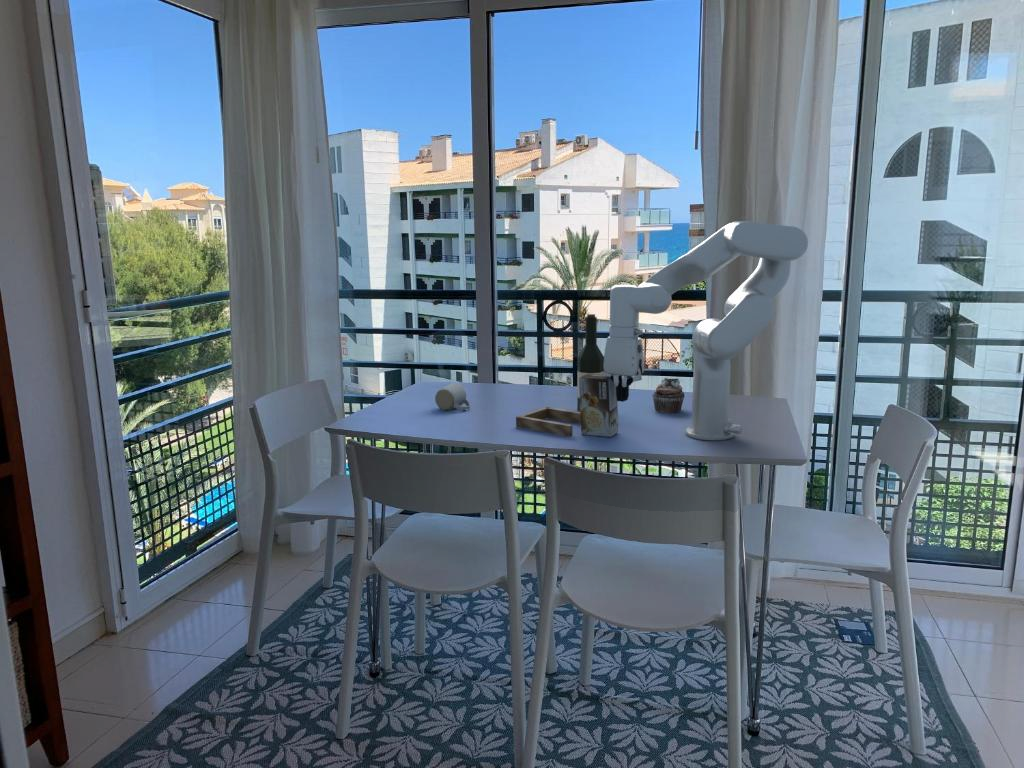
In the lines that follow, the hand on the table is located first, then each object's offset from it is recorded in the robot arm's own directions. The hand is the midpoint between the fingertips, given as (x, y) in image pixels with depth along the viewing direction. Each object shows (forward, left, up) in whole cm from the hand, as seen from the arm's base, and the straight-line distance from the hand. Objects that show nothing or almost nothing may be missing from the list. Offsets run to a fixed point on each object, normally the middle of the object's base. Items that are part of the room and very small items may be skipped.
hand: (622, 400), depth 199 cm
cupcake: (+4, -35, -11) cm, 37 cm away
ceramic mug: (+61, +1, -11) cm, 62 cm away
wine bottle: (+24, -22, -11) cm, 34 cm away
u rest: (+21, 0, -10) cm, 23 cm away
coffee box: (+7, 0, -11) cm, 13 cm away
